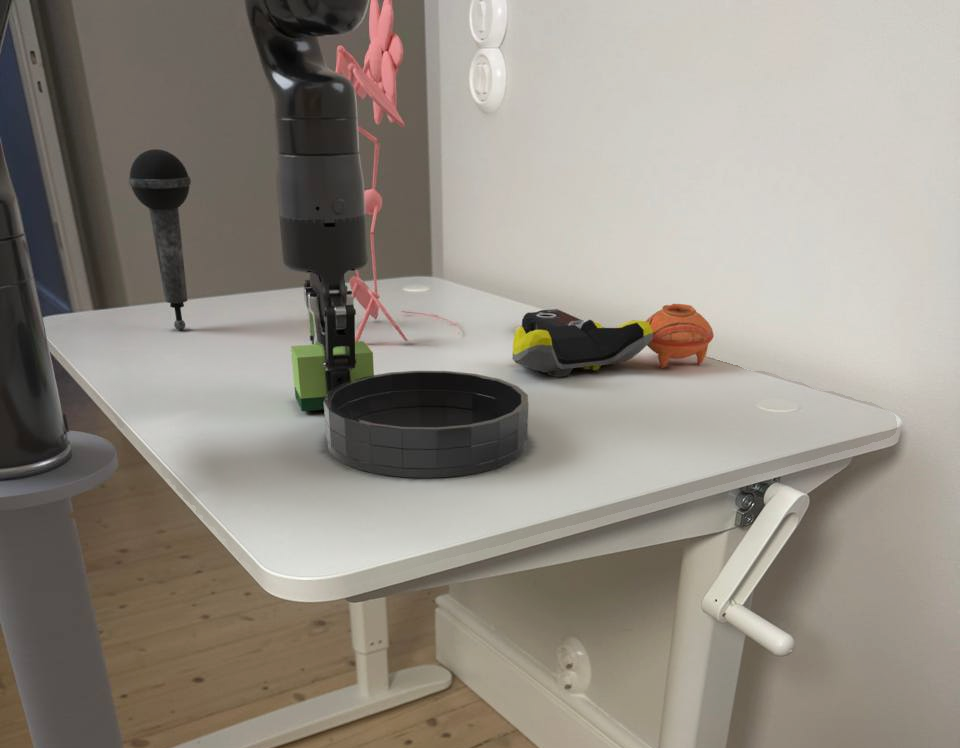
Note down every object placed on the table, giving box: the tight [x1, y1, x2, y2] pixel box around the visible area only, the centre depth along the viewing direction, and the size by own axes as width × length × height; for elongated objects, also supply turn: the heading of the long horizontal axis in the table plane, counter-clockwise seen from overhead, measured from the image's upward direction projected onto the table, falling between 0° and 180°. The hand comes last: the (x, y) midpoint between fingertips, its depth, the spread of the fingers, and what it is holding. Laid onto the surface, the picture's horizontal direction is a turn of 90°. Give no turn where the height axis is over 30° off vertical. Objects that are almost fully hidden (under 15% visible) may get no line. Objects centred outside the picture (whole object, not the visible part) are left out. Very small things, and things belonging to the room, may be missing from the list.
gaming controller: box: [512, 319, 653, 377], centre depth 105 cm, size 15×6×10 cm
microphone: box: [128, 148, 192, 331], centre depth 116 cm, size 7×7×20 cm
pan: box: [323, 370, 529, 479], centre depth 85 cm, size 17×17×4 cm
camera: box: [521, 308, 585, 332], centre depth 120 cm, size 6×3×11 cm
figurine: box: [335, 0, 460, 343], centre depth 113 cm, size 15×26×35 cm, turn 18°
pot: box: [644, 303, 714, 368], centre depth 109 cm, size 8×8×7 cm
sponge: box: [290, 340, 375, 412], centre depth 94 cm, size 7×4×5 cm, turn 107°
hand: (335, 401), depth 95 cm, fingers closed on sponge, 4 cm apart
